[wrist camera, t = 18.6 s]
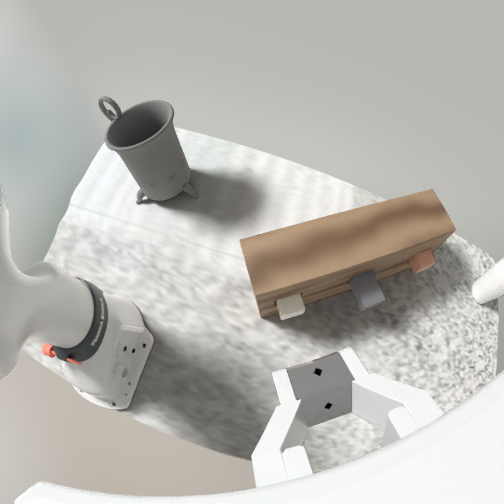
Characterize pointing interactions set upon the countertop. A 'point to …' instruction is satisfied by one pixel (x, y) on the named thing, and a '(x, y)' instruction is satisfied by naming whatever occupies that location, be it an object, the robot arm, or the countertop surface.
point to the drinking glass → (489, 284)
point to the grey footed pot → (149, 148)
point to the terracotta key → (422, 261)
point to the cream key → (290, 306)
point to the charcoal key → (366, 290)
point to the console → (343, 248)
